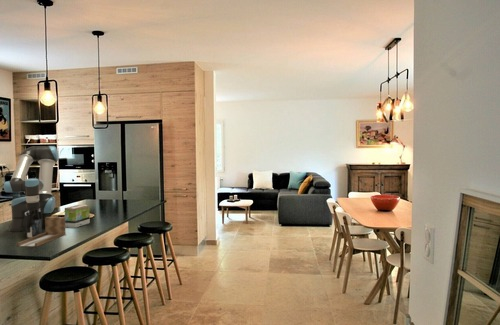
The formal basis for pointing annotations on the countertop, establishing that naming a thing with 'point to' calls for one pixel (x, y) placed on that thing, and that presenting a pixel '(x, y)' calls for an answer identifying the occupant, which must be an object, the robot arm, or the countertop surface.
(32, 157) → the robot arm
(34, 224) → the box
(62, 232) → the track
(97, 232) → the countertop surface
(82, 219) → the tea box
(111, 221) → the countertop surface
